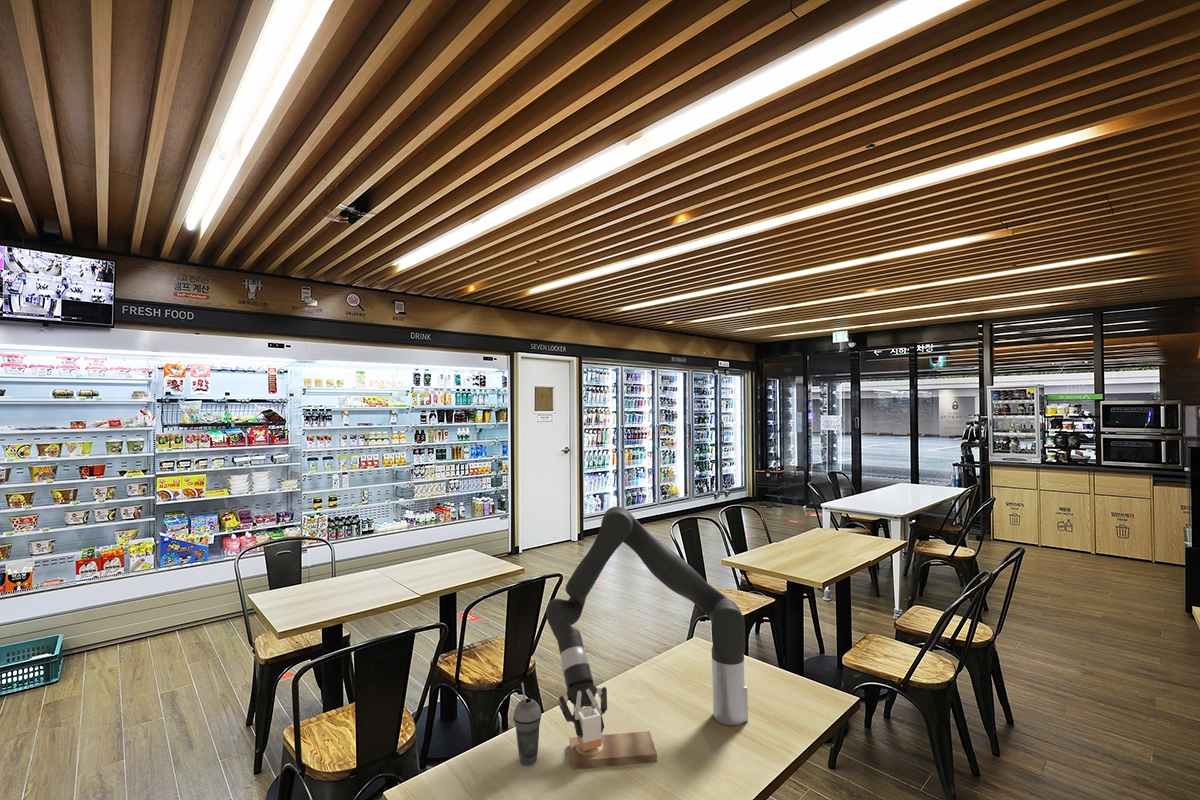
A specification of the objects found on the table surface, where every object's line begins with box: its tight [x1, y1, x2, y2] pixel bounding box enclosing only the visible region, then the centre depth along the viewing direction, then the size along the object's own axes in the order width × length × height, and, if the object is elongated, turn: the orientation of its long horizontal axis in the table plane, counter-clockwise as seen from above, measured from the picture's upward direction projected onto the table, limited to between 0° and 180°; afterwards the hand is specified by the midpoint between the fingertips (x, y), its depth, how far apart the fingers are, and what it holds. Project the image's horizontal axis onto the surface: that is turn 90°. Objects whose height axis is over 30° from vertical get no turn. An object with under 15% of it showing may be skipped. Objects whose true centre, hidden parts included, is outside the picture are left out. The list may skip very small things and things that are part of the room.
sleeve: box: [576, 706, 602, 751], centre depth 144 cm, size 5×5×8 cm
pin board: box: [569, 730, 658, 770], centre depth 145 cm, size 22×10×7 cm, turn 96°
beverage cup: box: [512, 682, 542, 767], centre depth 143 cm, size 7×7×20 cm
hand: (591, 734), depth 143 cm, fingers closed on sleeve, 4 cm apart
